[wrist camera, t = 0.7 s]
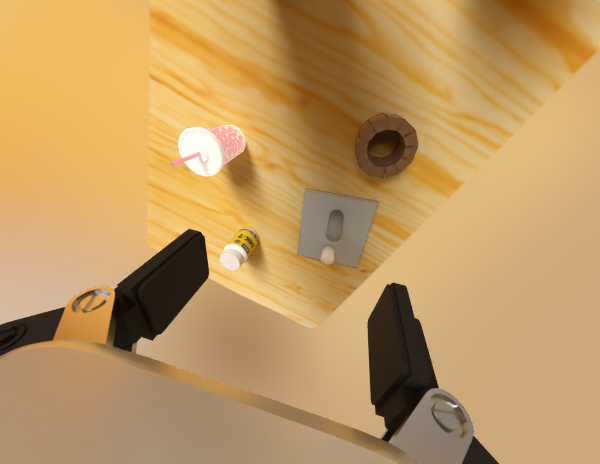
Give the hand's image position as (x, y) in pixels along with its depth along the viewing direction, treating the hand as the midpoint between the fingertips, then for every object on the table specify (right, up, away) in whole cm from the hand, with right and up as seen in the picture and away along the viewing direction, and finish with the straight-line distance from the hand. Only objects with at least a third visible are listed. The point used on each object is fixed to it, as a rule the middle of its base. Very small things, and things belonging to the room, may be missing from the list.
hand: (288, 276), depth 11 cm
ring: (+12, +15, +20) cm, 28 cm away
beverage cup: (-10, +17, +24) cm, 32 cm away
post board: (+7, +3, +29) cm, 30 cm away
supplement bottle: (-10, +1, +35) cm, 36 cm away
